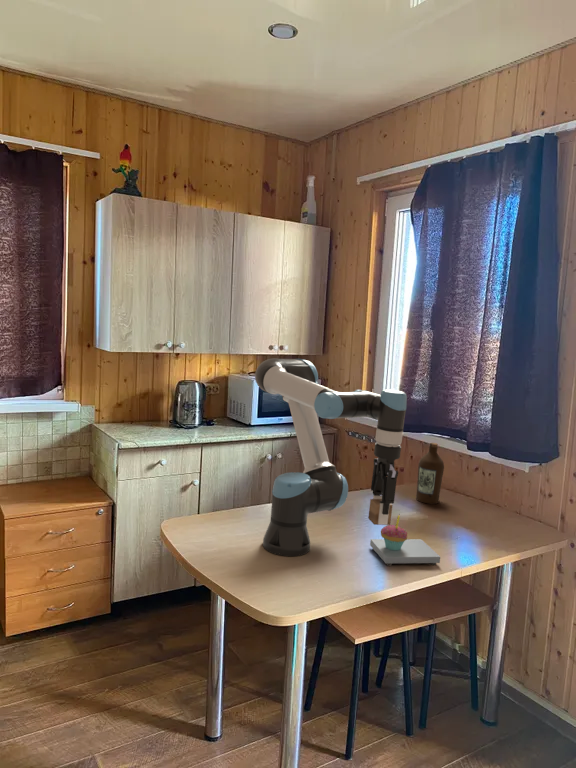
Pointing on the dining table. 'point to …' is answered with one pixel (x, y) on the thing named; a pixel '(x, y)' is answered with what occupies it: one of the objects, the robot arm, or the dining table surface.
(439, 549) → the dining table surface
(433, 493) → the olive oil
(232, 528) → the dining table surface
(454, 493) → the dining table surface
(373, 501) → the walnut block
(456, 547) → the dining table surface
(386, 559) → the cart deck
